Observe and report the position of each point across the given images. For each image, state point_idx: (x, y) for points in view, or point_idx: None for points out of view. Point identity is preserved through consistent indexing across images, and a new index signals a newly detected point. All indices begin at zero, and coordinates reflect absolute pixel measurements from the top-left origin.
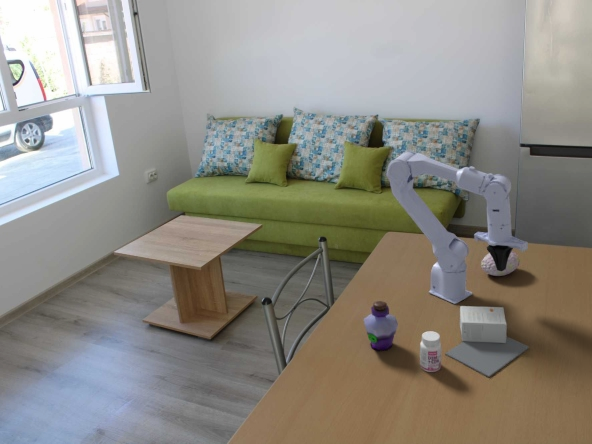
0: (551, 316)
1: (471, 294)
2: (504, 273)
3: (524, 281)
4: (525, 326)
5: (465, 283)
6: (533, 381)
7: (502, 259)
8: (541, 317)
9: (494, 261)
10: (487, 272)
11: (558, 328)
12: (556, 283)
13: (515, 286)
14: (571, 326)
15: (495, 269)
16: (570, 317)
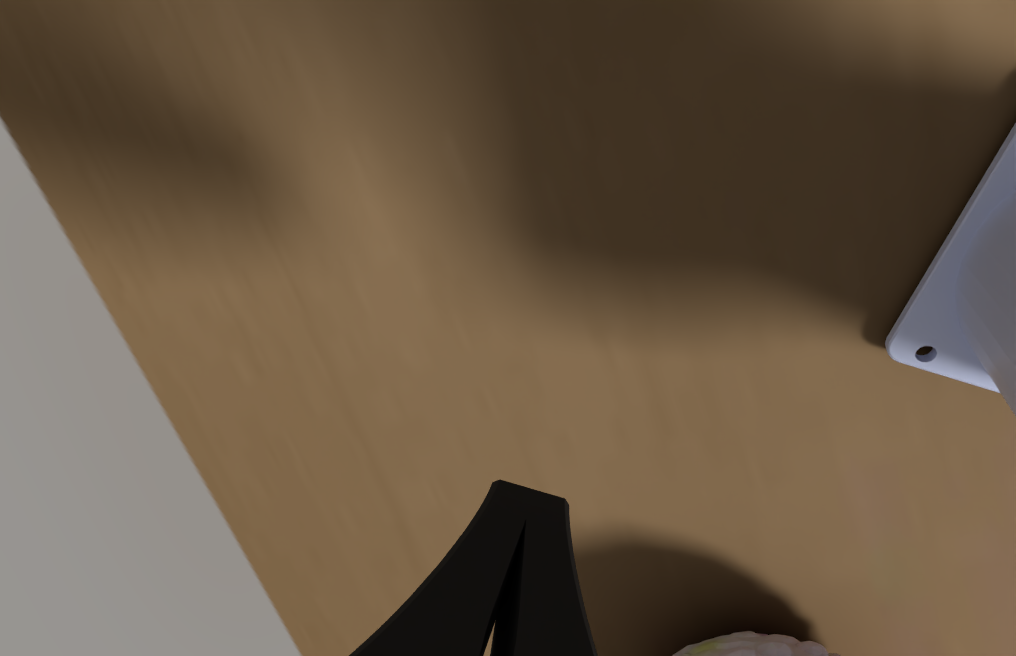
0: (250, 269)
1: (890, 332)
2: (682, 652)
3: None
4: (305, 36)
5: (1010, 351)
6: None
7: (371, 639)
8: (286, 227)
9: (577, 616)
10: (817, 647)
11: (147, 138)
12: None
13: (586, 546)
14: (115, 203)
15: None
16: (174, 304)
